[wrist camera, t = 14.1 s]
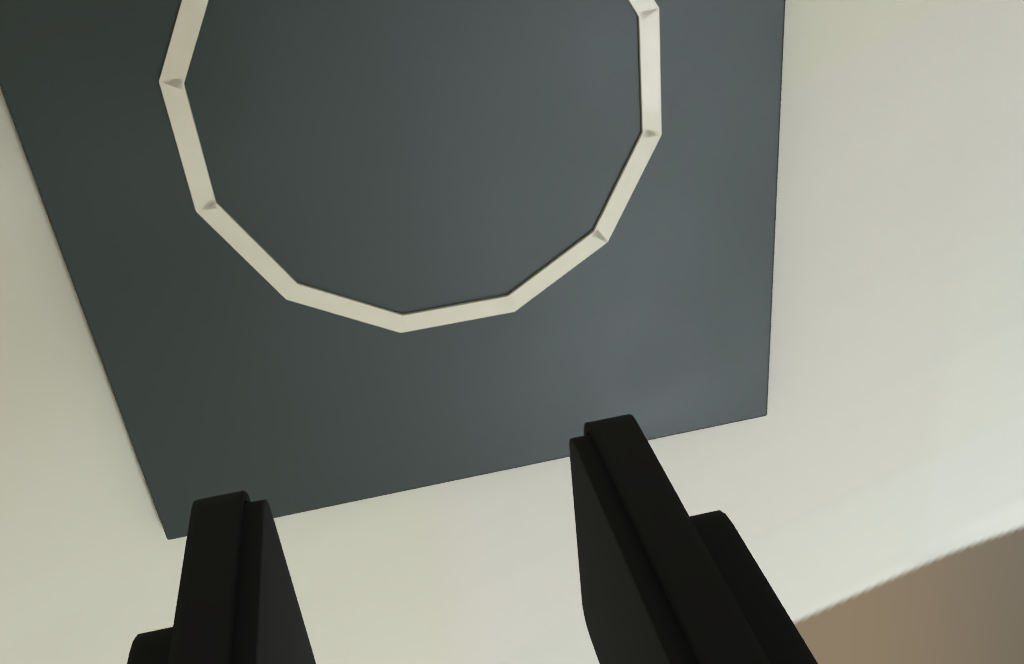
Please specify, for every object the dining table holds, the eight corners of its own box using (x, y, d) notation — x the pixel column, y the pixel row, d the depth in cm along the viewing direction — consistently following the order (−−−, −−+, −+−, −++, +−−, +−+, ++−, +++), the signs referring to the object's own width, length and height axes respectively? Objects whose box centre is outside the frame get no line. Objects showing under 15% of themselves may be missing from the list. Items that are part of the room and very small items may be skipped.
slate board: (-187, -450, 16) (-206, -460, 16) (796, -520, 18) (812, -532, 18) (169, 527, 27) (167, 543, 26) (759, 405, 29) (769, 417, 29)
